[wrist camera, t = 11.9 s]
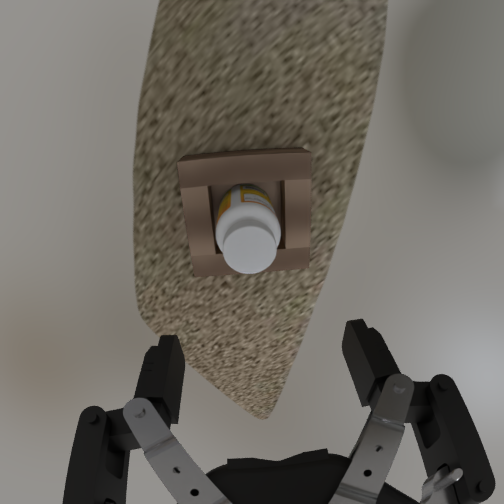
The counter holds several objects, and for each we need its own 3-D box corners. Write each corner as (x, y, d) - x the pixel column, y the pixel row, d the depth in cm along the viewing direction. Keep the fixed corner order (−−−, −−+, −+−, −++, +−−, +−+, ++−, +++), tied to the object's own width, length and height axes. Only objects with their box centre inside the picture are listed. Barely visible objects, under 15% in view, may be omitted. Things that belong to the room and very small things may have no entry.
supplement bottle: (231, 238, 31) (230, 291, 22) (211, 194, 29) (200, 233, 20) (278, 221, 30) (295, 268, 22) (261, 174, 28) (272, 205, 19)
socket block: (183, 156, 27) (176, 162, 24) (302, 147, 27) (311, 152, 24) (198, 260, 33) (194, 277, 30) (302, 252, 33) (309, 268, 30)
